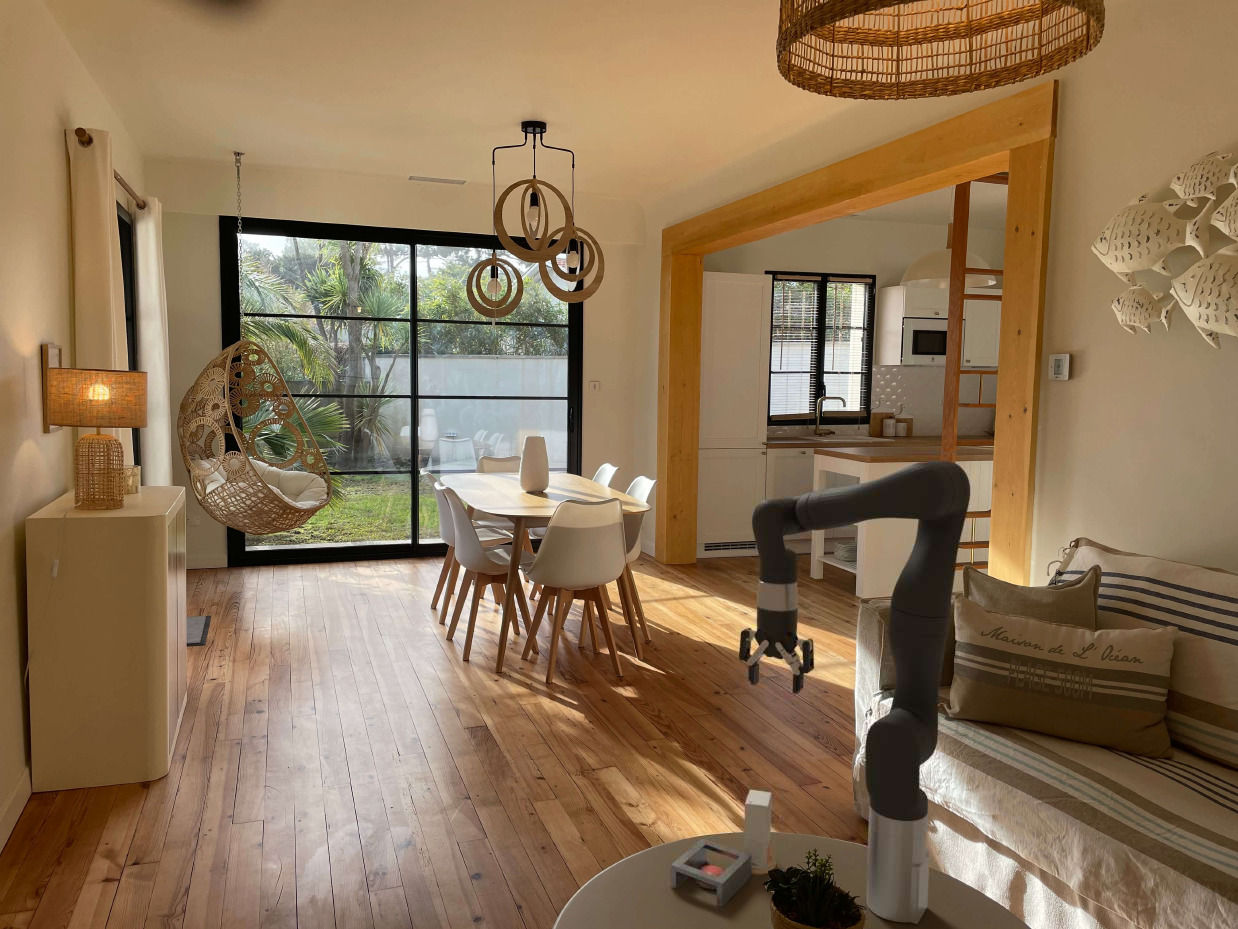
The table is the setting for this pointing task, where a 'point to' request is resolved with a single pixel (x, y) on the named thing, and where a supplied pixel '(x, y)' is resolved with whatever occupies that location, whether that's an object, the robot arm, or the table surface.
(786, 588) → the robot arm
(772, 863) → the coaster
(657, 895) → the table surface
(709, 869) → the button
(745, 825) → the skincare box
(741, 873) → the grey square frame
